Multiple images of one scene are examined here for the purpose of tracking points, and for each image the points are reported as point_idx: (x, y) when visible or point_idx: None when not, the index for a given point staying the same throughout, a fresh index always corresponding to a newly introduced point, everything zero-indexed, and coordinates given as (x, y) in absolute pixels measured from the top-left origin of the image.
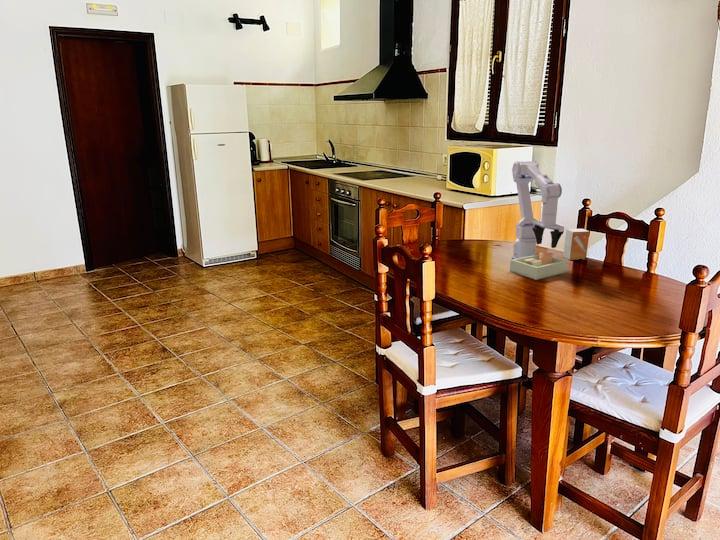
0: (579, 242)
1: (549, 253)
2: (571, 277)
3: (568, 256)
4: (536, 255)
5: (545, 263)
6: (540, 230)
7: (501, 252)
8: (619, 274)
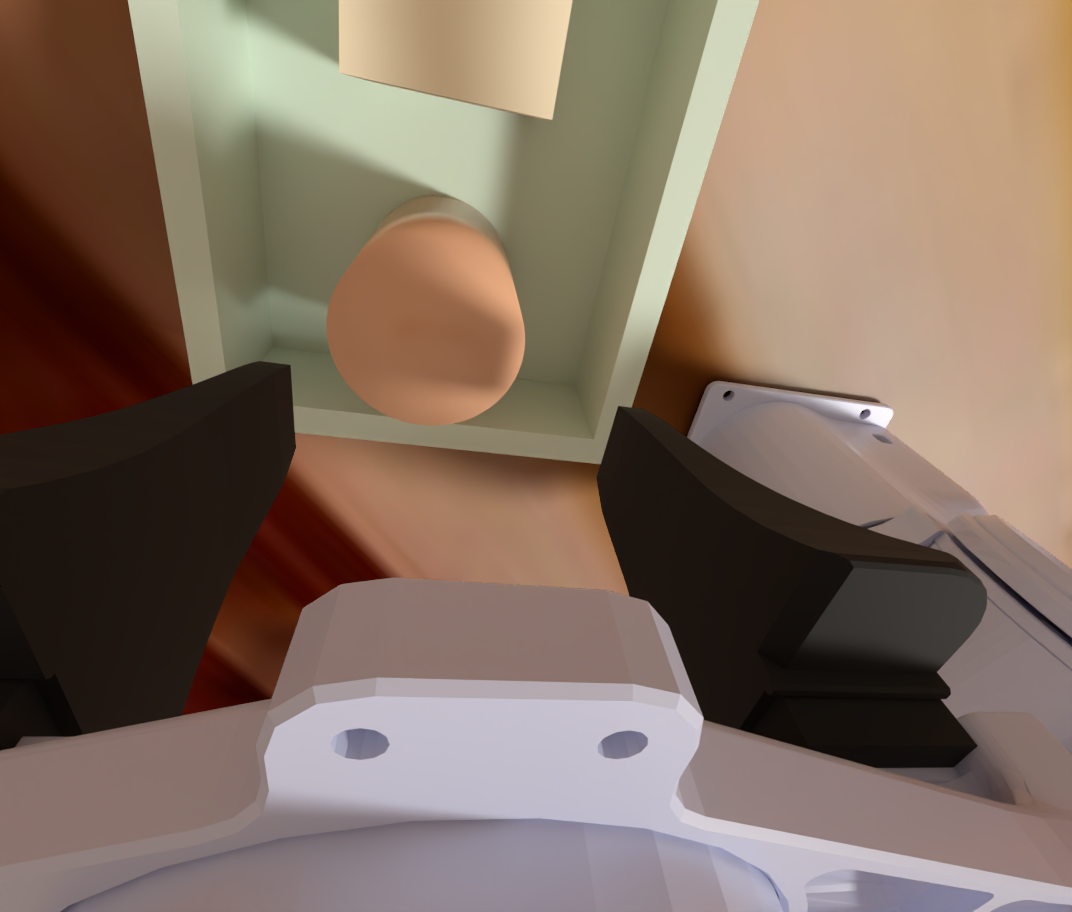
0: None
1: (369, 345)
2: (78, 246)
3: None
4: (612, 374)
5: (383, 224)
6: (702, 651)
7: (1004, 487)
8: None
